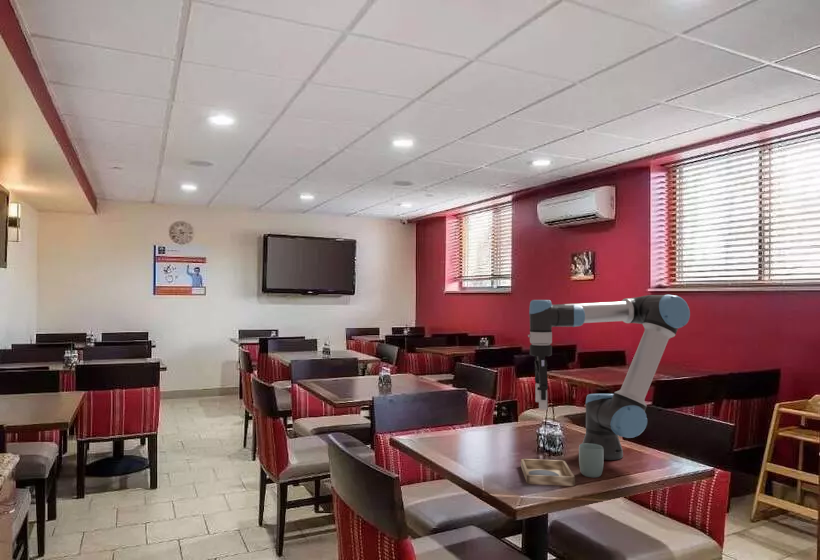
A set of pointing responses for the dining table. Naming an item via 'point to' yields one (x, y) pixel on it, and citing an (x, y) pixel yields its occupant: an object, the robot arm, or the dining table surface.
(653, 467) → the dining table surface
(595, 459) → the cup
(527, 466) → the wooden tray
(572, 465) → the dining table surface
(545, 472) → the pad
